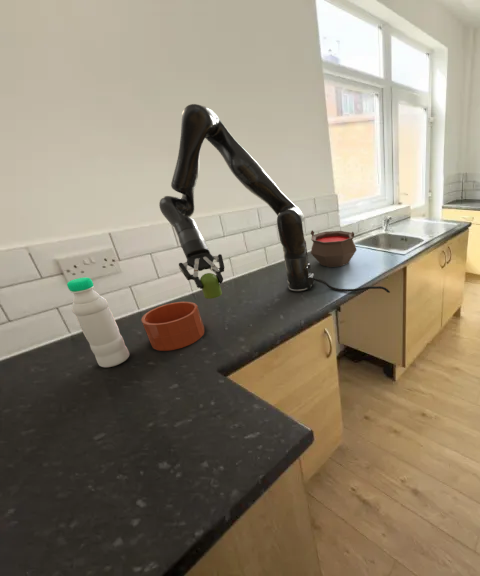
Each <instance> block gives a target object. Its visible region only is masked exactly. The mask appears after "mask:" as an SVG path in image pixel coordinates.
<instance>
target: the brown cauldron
mask: <svg viewBox="0 0 480 576" xmlns="http://www.w3.org/2000/svg"><path fill="white" fill-rule="evenodd" d="M310 235H311V239H310V240H311V241H312V245H311V249H310V254H311V255H312V256H313V257H314V258H315V260H316V261H317V262H318V263H319V264H320V266H324V267H327V268H336V267H337V268H338V267H343V266H345V265H347V264H349V263H350V261H351V260H352V258H353V256H354V255H355V253H356V252H357V247H356V244H355V242H354V240H353V239H354V237H355V232H354V231H352V232H350V231H344V230H330V231H321V232H318V233H315V231H314V230H313V229H312V230H310Z"/></svg>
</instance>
